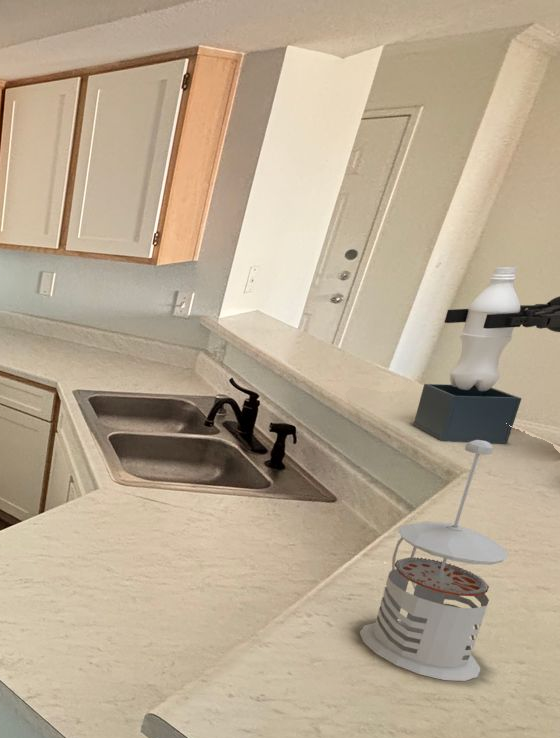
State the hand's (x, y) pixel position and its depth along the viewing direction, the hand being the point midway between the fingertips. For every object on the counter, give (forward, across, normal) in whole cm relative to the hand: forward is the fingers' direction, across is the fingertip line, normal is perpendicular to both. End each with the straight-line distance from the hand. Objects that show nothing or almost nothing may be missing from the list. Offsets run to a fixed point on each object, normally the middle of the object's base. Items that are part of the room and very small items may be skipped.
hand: (467, 318), depth 120 cm
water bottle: (-5, 0, -15) cm, 16 cm away
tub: (-5, 0, -25) cm, 26 cm away
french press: (+65, -65, -25) cm, 95 cm away
